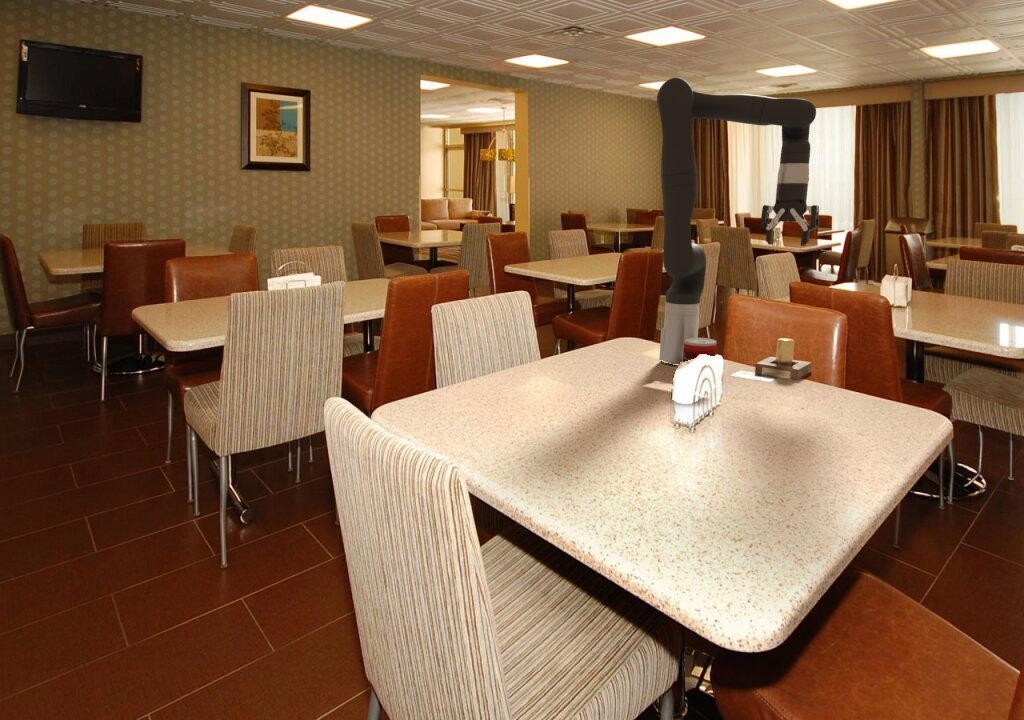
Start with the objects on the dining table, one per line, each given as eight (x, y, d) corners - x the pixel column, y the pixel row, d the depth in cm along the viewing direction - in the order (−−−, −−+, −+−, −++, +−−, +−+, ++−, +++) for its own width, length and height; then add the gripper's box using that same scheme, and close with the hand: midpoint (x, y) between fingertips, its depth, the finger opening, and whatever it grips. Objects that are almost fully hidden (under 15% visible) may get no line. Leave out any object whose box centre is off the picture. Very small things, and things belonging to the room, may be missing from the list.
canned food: (717, 382, 168) (720, 339, 166) (708, 389, 162) (711, 344, 159) (687, 378, 172) (689, 336, 170) (677, 385, 166) (680, 341, 163)
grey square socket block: (754, 378, 172) (755, 363, 171) (769, 371, 180) (770, 356, 179) (796, 385, 166) (798, 369, 165) (810, 377, 174) (811, 362, 173)
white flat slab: (729, 381, 169) (729, 375, 169) (739, 376, 175) (740, 370, 174) (768, 388, 163) (769, 382, 163) (778, 382, 168) (779, 376, 168)
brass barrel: (771, 378, 173) (775, 340, 171) (777, 375, 176) (780, 337, 174) (787, 380, 170) (791, 342, 168) (792, 377, 173) (796, 339, 171)
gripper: (760, 182, 177) (754, 244, 180) (816, 181, 168) (810, 246, 171) (770, 183, 182) (765, 243, 186) (825, 182, 173) (819, 245, 177)
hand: (786, 245), depth 179 cm, fingers open, 8 cm apart
